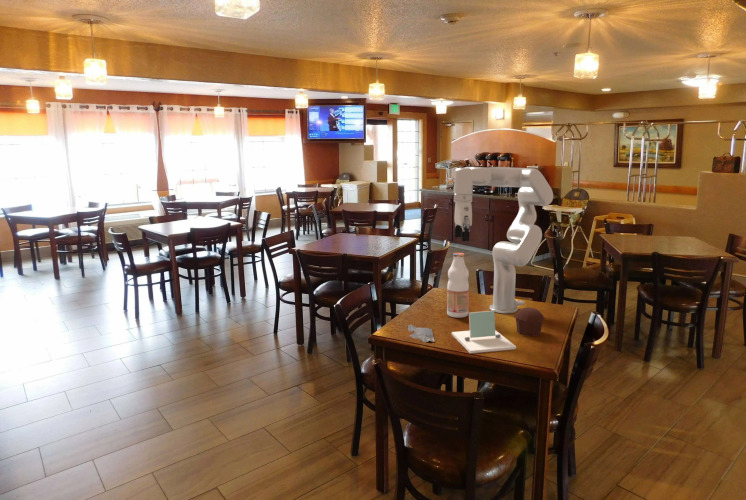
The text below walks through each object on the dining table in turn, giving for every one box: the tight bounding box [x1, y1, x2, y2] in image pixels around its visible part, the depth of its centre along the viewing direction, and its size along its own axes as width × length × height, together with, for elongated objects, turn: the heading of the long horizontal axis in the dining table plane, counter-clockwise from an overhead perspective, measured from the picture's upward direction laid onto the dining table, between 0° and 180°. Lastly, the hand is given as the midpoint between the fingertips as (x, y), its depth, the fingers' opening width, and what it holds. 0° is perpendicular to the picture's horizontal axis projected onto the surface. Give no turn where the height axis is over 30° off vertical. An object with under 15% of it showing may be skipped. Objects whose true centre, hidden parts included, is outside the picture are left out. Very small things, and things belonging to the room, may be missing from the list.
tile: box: [468, 310, 496, 338], centre depth 201 cm, size 10×10×1 cm
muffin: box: [514, 307, 546, 337], centre depth 210 cm, size 12×11×10 cm
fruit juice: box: [446, 252, 470, 319], centre depth 231 cm, size 9×9×28 cm
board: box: [451, 329, 517, 354], centre depth 202 cm, size 18×20×2 cm
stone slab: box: [407, 324, 435, 343], centre depth 210 cm, size 18×2×10 cm
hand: (461, 239), depth 219 cm, fingers open, 9 cm apart
